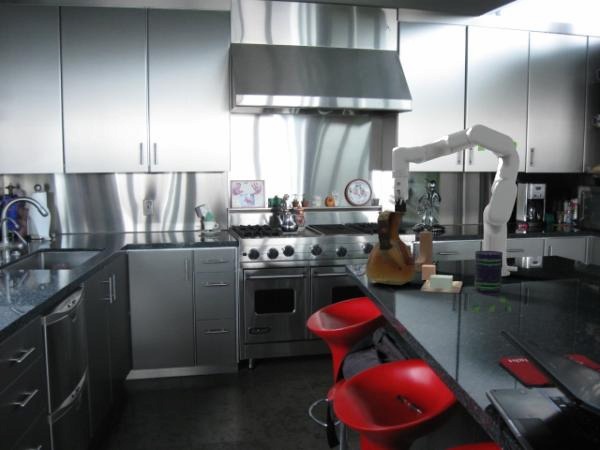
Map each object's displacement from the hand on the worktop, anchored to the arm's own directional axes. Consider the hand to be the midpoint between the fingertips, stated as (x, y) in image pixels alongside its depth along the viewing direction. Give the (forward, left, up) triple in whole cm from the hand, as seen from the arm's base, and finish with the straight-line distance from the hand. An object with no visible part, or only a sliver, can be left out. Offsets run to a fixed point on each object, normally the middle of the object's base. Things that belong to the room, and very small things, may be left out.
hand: (400, 212), depth 245 cm
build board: (-22, +31, -27) cm, 46 cm away
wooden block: (-10, -5, -27) cm, 29 cm away
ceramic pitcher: (-1, +30, -27) cm, 40 cm away
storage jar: (-39, +35, -27) cm, 59 cm away
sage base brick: (-22, +35, -26) cm, 49 cm away
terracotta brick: (-15, +16, -27) cm, 35 cm away
